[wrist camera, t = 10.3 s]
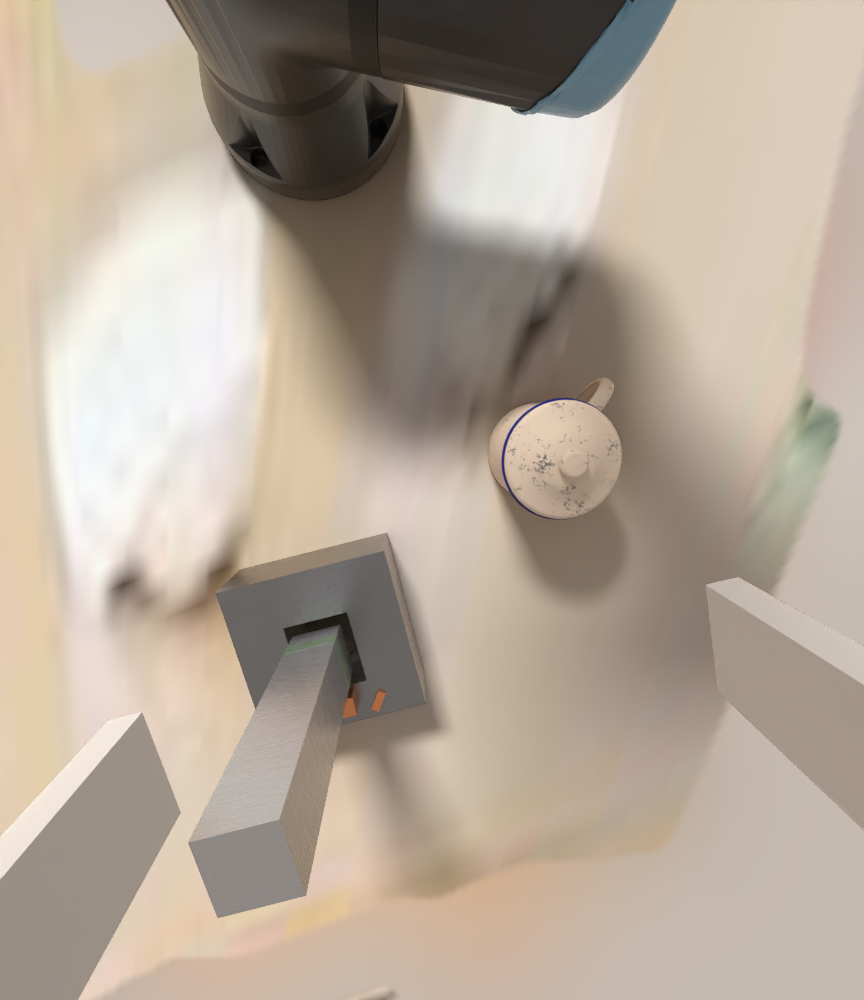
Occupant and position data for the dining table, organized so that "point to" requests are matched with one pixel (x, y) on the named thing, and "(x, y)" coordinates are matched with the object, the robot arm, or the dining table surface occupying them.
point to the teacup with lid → (558, 453)
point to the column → (276, 781)
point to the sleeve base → (323, 593)
